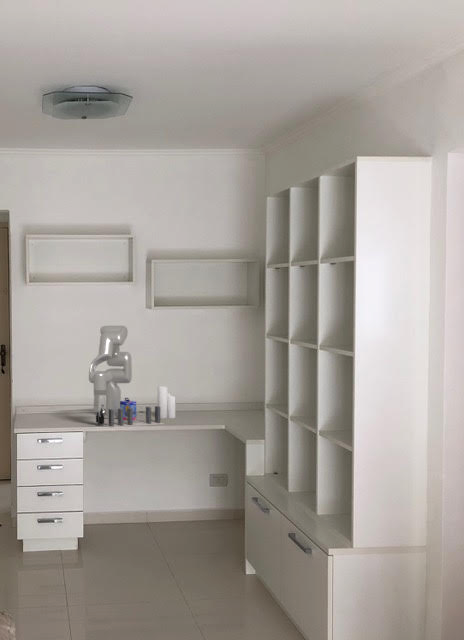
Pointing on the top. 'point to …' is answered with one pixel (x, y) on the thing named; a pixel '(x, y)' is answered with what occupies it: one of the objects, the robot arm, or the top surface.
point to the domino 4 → (129, 416)
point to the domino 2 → (111, 417)
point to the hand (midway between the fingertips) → (100, 422)
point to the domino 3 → (120, 416)
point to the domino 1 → (98, 420)
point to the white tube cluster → (166, 403)
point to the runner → (134, 424)
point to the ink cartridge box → (128, 404)
